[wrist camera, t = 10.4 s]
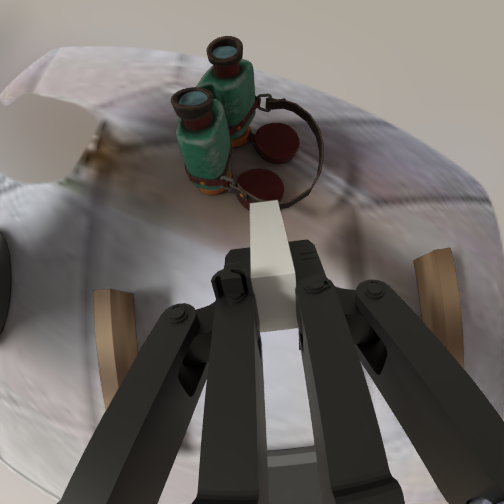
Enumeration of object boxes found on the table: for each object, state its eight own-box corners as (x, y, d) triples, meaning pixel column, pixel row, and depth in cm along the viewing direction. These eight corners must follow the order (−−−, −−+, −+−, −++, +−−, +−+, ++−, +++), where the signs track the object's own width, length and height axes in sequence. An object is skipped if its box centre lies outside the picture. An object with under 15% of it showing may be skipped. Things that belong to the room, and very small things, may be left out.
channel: (439, 412, 16) (461, 423, 13) (137, 445, 18) (117, 460, 15) (428, 257, 19) (450, 247, 16) (118, 295, 21) (93, 290, 18)
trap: (342, 510, 15) (344, 516, 14) (248, 520, 15) (247, 526, 15) (343, 440, 17) (346, 446, 16) (237, 452, 17) (235, 457, 16)
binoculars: (335, 172, 11) (129, 119, 12) (297, 235, 22) (177, 197, 22) (358, 56, 13) (203, 22, 13) (323, 142, 23) (217, 113, 24)
